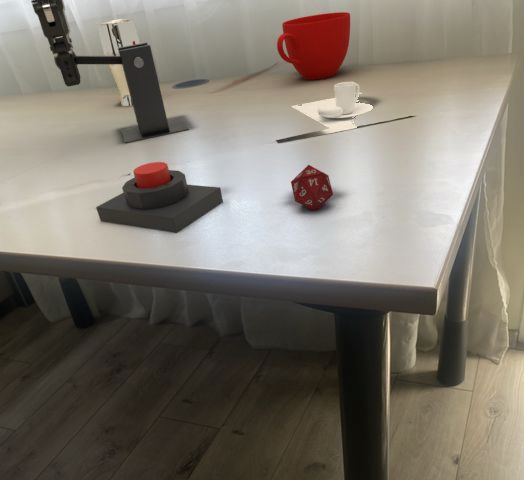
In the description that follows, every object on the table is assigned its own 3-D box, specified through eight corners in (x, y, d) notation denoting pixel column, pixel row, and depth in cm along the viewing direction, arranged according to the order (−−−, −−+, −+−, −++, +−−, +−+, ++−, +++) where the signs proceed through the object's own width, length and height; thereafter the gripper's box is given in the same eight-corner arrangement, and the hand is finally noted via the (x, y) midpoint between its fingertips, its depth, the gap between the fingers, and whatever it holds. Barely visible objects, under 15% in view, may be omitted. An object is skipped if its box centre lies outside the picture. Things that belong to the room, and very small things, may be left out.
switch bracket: (126, 150, 81) (100, 56, 73) (123, 137, 88) (98, 50, 80) (190, 136, 82) (171, 42, 75) (181, 124, 89) (163, 37, 82)
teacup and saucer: (323, 125, 77) (321, 95, 74) (308, 114, 83) (306, 86, 81) (381, 114, 77) (381, 83, 75) (361, 103, 84) (361, 75, 81)
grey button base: (100, 221, 58) (90, 190, 56) (149, 194, 63) (141, 165, 61) (177, 233, 52) (168, 199, 50) (223, 202, 58) (217, 170, 56)
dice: (298, 219, 51) (294, 178, 49) (291, 202, 55) (287, 164, 52) (336, 213, 51) (334, 171, 49) (327, 196, 55) (325, 157, 52)
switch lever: (55, 73, 75) (51, 48, 74) (56, 71, 78) (52, 46, 76) (148, 73, 79) (146, 48, 77) (146, 71, 81) (144, 47, 79)
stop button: (130, 189, 56) (125, 172, 55) (153, 177, 58) (149, 161, 57) (156, 191, 54) (151, 174, 53) (178, 179, 56) (174, 162, 55)
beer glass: (154, 101, 109) (134, 16, 100) (154, 108, 103) (133, 18, 94) (120, 108, 108) (97, 22, 100) (119, 115, 103) (94, 25, 94)
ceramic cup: (260, 87, 106) (253, 29, 100) (317, 68, 114) (314, 13, 108) (307, 90, 98) (302, 27, 92) (365, 69, 106) (364, 10, 100)
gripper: (3, -56, 73) (50, 81, 83) (-12, -64, 62) (45, 96, 72) (58, -65, 74) (98, 72, 84) (53, -74, 63) (100, 85, 73)
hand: (73, 82), depth 78 cm, fingers closed on switch lever, 3 cm apart
